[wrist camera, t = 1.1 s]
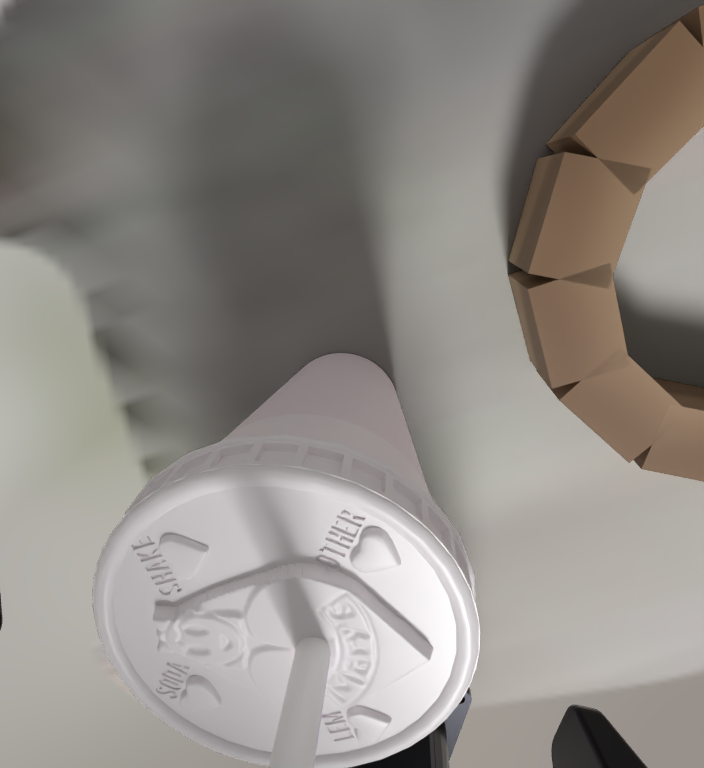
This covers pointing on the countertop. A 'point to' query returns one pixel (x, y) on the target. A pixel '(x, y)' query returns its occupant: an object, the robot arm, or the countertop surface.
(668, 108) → the walnut ring
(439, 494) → the countertop surface
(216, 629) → the smoothie
